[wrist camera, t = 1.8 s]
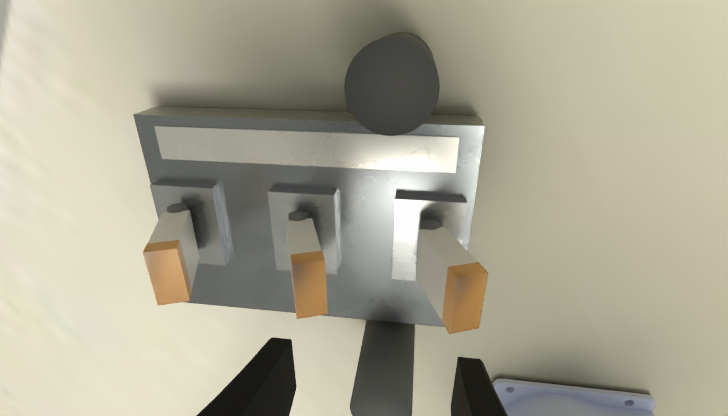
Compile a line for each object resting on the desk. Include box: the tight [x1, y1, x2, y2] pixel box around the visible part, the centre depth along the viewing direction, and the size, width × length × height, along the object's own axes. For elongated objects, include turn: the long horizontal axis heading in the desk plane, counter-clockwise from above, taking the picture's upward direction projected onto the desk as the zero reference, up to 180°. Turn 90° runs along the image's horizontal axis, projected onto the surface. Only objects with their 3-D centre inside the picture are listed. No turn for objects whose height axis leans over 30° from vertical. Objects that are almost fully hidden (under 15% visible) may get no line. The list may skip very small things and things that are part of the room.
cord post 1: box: [344, 33, 439, 136], centre depth 15 cm, size 3×3×6 cm
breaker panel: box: [133, 106, 485, 327], centre depth 20 cm, size 16×11×3 cm
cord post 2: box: [350, 320, 415, 416], centre depth 22 cm, size 3×3×6 cm
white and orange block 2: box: [416, 218, 488, 334], centre depth 16 cm, size 1×3×4 cm, turn 179°
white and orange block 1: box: [286, 210, 328, 319], centre depth 17 cm, size 1×3×4 cm, turn 179°
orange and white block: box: [143, 203, 199, 305], centre depth 18 cm, size 1×3×4 cm, turn 179°
